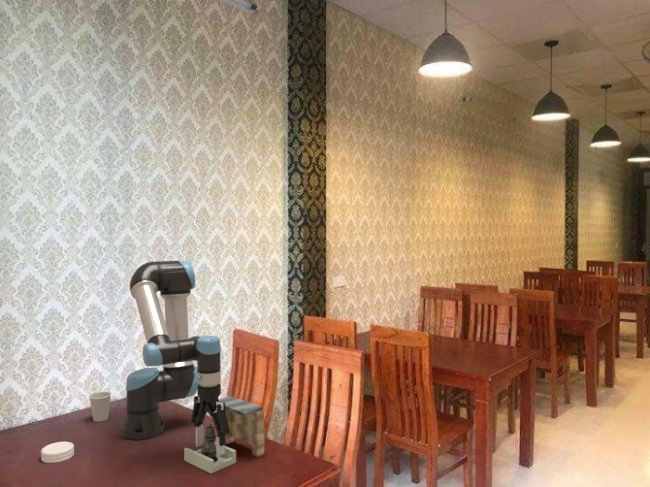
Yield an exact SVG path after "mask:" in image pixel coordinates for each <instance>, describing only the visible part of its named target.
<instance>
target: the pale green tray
mask: <svg viewBox="0 0 650 487" xmlns="http://www.w3.org/2000/svg"><path fill="white" fill-rule="evenodd" d="M215 446H216V441H215ZM183 452H184V453H183V455H184V458H183V459H184V462H187V464H191V465H192V466H194V467H196V468H199V469H200V470H203V471H204V472H207V473H208V474H211V475H212V474H213V473H216V472H218V471H221V470H222V469H225V468H227V467H229V466H231V465H234V464H236V463H237V450H235V449H234V448H231V447H228V446H226V445H225V454H222V455H220V456H217V455H216V457H217V458H218V460H217V461H216V462H214V460H213V459H211V458H209V457H207V456H204V455H203V454H202V451H201V448H199V449H197V450H193V449H191V448H189V447H184V448H183Z"/></svg>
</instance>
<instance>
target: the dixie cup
mask: <svg viewBox="0 0 650 487" xmlns="http://www.w3.org/2000/svg"><path fill="white" fill-rule="evenodd" d="M111 396H112V392H110V391H98V392H93V393H91V394H90V395H89V396H88V398H89V403H90V408H91V409H90V410H91V417H92V420H93V422H96V423H97V422H105V421H107V420H108V419H109V413H110V404H111Z"/></svg>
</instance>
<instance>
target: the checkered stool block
mask: <svg viewBox="0 0 650 487" xmlns="http://www.w3.org/2000/svg"><path fill="white" fill-rule="evenodd" d="M218 400H219V403H225V411H226V415H227V420H228V425H229V430H230V433H229V434H227V435H225V445H229V444H231V443H233V442H234V443H235V439H237V440H239V441H241V442H244V443H246V444H247V445H251V456H252V455H253V456H255V457H261V456H263V455H265V410H264V406H262V405H259V404H256V403H253V402H249V401H246V400H243V399H240V398H238V397H237V398H236V397H234V396H231V395H228V396H225V397H221V398H218Z"/></svg>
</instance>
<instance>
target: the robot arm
mask: <svg viewBox="0 0 650 487" xmlns="http://www.w3.org/2000/svg"><path fill="white" fill-rule="evenodd" d="M195 287H196V275H195V270H194V268H193V265H192V264H191V263H190V262H189V261H187V260H178V259H177V260H165V261H161V260H160V261H159V260H158V261H148V262H146V263H143V264H142V265H140V266H139V267H138V268H137V269H136V270H135V271H134V272H133V274H132V276H131V279H130V281H129V291H130V295H131V297H132V298H133V299H134V300H135V303H136V306H137V311H138V313H139V318H140V321H141V325H142V329H143V333H144V335H145V336H144V337H145V340H146V343H145V344H144V345H143V347H142V358H143V360H142V361H143V363H144V366H146V367H145V368H140V369H137V370H134V371H132V372H131V373H130V374H129V375H128V376H127V377H126V381H125V382H126V386H125V390H126V391H125V392H126V416H125V418H124V422H123V425H122V429H121V435H122V438H124V439H127V440H133V441H134V440H136V441H138V440H147V439H151V438H154V437H157V436H159V435H161V434H162V433H163V432H164V431H165V422H164V419H163V416H162V414H161V411H160V403H163V402H170V401H174V400H181V399H187V398H190V397H193V396H194V397H193V408H192V412H191V417H190V424H193V426H194V433H195V434H194V435H195V447H196V448H198V447H200V446H203V445H204V446H205V444H204V443H205V441H204V440H205V437H204V436H205V434H204V433H205V432H204V431H205V430H204V420H205V418H206V415H207V414H209V416H210V417H211V419H212V421H213V424H214V428H215V430H216V433H217V435H215V436H216V438H215V442H216V453H217V456H220V455H222V454H225V446H226V443H225V435H227V434H229V433H230V430H229V425H228V420H227V415H226V411H225V403H219V400H218V399H219V397H220V396H221V395H222V385H221V382H222V375H221V374H222V373H221V349H222V347H221V339H220V338H219V337H218V336H217V335H215V336H214V335H203V336H199V335H192V336H191V337H189V316H188V314H189V313H188V298H189V296H190V295H191V290H193V289H195ZM158 292H160V293H159V294H160V295H159V296H160V297H161V298H162V299H163V300H164V315H163V311H162V308H161V304H160V301H159V298H158V295H157V293H158ZM164 317H165V318H164ZM194 361H196V364H197V365H195V364H194ZM158 366H159V367H160V366H162V370H159V368H157V367H158ZM196 394H197V395H196ZM195 395H196V396H195Z"/></svg>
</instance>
